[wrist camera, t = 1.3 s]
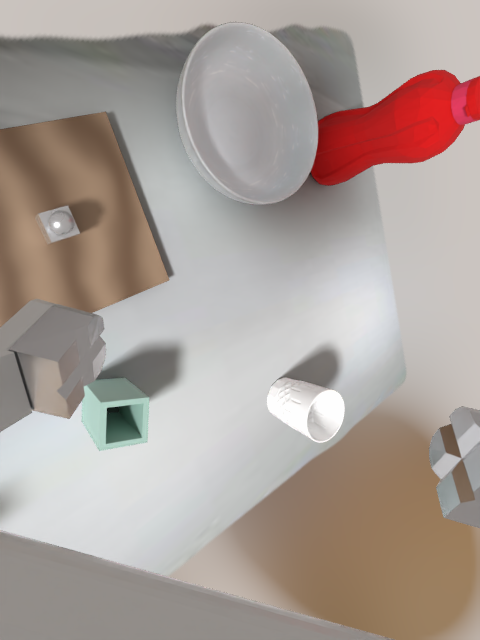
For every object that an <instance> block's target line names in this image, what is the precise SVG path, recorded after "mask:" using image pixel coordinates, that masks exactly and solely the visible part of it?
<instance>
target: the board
mask: <svg viewBox="0 0 480 640" xmlns="http://www.w3.org/2000/svg"><path fill="white" fill-rule="evenodd" d="M64 206H68V207H69V209H70V211H71V214H72V216H73V218H74V220H75V223H76V225H77V227H78V229H79V232H80V234H78V235H76V236H73V237H70V238H67V239H63V240H60V241H57V242H54V243H51V244H47V242H46V240H45V238H44V236H43V234H42V232H41V229H40V227H39V225H38V223H37V221H36V219H35V217H36V216H37V214H39V213H42V212H46V211H49V210H53V209H57V208H60V207H64ZM166 281H169V278H168V275H167V272H166V270H165V267H164V264H163V262H162V259H161V257H160V254H159V251H158V249H157V246H156V243H155V241H154V238H153V235H152V233H151V230H150V227H149V225H148V222H147V219H146V217H145V214H144V212H143V209H142V206H141V204H140V201H139V198H138V196H137V193H136V190H135V188H134V185H133V182H132V180H131V177H130V175H129V172H128V169H127V167H126V164H125V161H124V159H123V156H122V153H121V151H120V148H119V145H118V143H117V140H116V137H115V135H114V132H113V130H112V127H111V124H110V122H109V119H108V116H107V114H106V112H101V113H95V114H89V115H84V116H78V117H72V118H66V119H60V120H54V121H48V122H42V123H36V124H30V125H24V126H18V127H12V128H6V129H0V327H2V326H3V325H4V324H5V323H6V322H7V321H8V320H9V319H10V318H11V317H13V316H14V315H15V314H16V313H17V312H18V311H19V310H20V309H21V308H23V307H24V306H25V305H26V304H27V303H28V302H29V301H31V300H34V299H40V300H44V301H47V302H51V303H54V304H60V305H64V306H67V307H71V308H75V309H78V310H82V311H85V312H89V313H93V312H95V311H97V310H100V309H102V308H105V307H107V306H109V305H112V304H114V303H116V302H119V301H121V300H123V299H126V298H128V297H131V296H133V295H135V294H138V293H140V292H142V291H145V290H147V289H150V288H152V287H154V286H157V285H159V284H161V283H164V282H166Z"/></svg>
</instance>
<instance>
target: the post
mask: <svg viewBox="0 0 480 640" xmlns="http://www.w3.org/2000/svg"><path fill="white" fill-rule="evenodd" d="M35 219H36V221H37V223H38V225H39V227H40V229H41V232H42V234H43V236H44V238H45V240H46V242H47V244H51V243H54V242H57V241H60V240H63V239H67V238H70V237H73V236H76V235H78V234H80V232H79V229H78V227H77V225H76V223H75V220H74V218H73V216H72V214H71V211H70V209H69V207H68V206H64V207H60V208H57V209H53V210H49V211H46V212H42V213H39V214H37V216H36V217H35Z"/></svg>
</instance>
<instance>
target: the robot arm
mask: <svg viewBox="0 0 480 640" xmlns="http://www.w3.org/2000/svg"><path fill="white" fill-rule="evenodd" d="M103 330H104V322H103V318H102V317H101V316H99V315H96V314H93V313H89V312H85V311H82V310H78V309H75V308H71V307H67V306H64V305H60V304H54V303H51V302H47V301H44V300H40V299H34V300H31V301H29V302H28V303H27V304H26V305H25V306H24V307H23V308H21V309H20V310H19V311H18V312H17V313H16V314H15V315H14V316H13V317H11V318H10V319H9V320H8V321H7V322H6V323H5V324H4V325H3V326H2V327H0V432H1V431H3V430H4V429H6V428H8V427H9V426H11V425H13V424H14V423H16V422H17V421H19V420H21V419H22V418H24V417H26V416H27V415H29V414H31V413H32V410H33V411H37V412H41V413H46V414H50V415H54V416H59V417H63V418H67V419H70V417H71V416H72V414H73V413H74V411H75V410H76V408H77V407H78V405H79V404H80V403H81V401H82V400H83V398H84V397H85V393H84V386H86V385H88V384H90V383H92V382H94V381H95V380H96V378H97V377H98V375H99V374H100V372H101V369H102V367H103V364H104V361H105V356H106V343H105V342H104V341H103V339H102V338H101V337H100V334H101V333H102V332H103ZM450 421H451V424H449V425H447V426H444V427H441V428H439V429H438V430H437V432H436V433H435V434H434V436H433V437H432V440H431V444H430V448H429V456H430V457H429V458H430V463H431V467H432V469H433V471H434V472H435V473H436V474H437V475H438V477H439V478H440V479H441V480H440V482H439V484H438V485H437V487H436V488H437V493H438V497H439V501H440V505H441V508H442V513H443V517H444V518H447V519H450V520H454V521H457V522H461V523H464V524H467V525H471V526H474V527H478V528H480V410H476V409H472V408H467V407H463V406H462V407H459V408H457V409H455V410H454V412H453V413H452V414H451V415H450ZM0 640H394V639H390V638H387V637H383V636H379V635H376V634H372V633H368V632H365V631H361V630H358V629H354V628H351V627H347V626H344V625H340V624H336V623H332V622H329V621H326V620H322V619H318V618H315V617H311V616H307V615H304V614H300V613H297V612H293V611H290V610H286V609H282V608H278V607H275V606H271V605H268V604H264V603H261V602H257V601H253V600H250V599H246V598H243V597H239V596H236V595H232V594H228V593H225V592H221V591H218V590H214V589H210V588H207V587H203V586H200V585H196V584H192V583H189V582H185V581H181V580H178V579H174V578H171V577H167V576H164V575H160V574H157V573H153V572H149V571H146V570H142V569H139V568H135V567H131V566H128V565H124V564H121V563H117V562H113V561H110V560H106V559H103V558H99V557H95V556H92V555H88V554H85V553H81V552H77V551H74V550H70V549H67V548H63V547H59V546H56V545H52V544H49V543H45V542H41V541H38V540H34V539H31V538H27V537H23V536H20V535H16V534H13V533H9V532H5V531H2V530H0Z"/></svg>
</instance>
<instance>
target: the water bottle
mask: <svg viewBox="0 0 480 640" xmlns="http://www.w3.org/2000/svg"><path fill="white" fill-rule="evenodd" d="M477 120H480V76H479V77H477V78H474V79H471V80H469V81H466V82H464V83H460V82H459V81H458V79H457V78H456V77H455V75H453V74H451V73H449V72H447V71H445V70H432V71H429V72H426V73H423V74H420V75H417V76H415V77H413V78H411V79H410V80H408V81H407V82H406V83H404V84H403V85H401V86H400V87H399V88H398V89H396V90H395V91H393V92H392V93H391V94H389V95H388V96H387V97H385V98H384V99H382V100H381V101H380V102H378V103H377V104H375V105H372V106H370V107H365V108H358V109H351V110H345V111H339V112H336V113H333V114H330V115H328V116H326V117H324V118H323V119H321V120H319V121H318V145H317V151H316V156H315V160H314V164H313V166H312V169H311V174H312V177H313V178H314V179H315V180H316V181H317V182H318V183H319V184H322V185H328V186H329V185H335V184H339V183H342V182H345V181H347V180H349V179H351V178H352V177H354V176H356V175H357V174H359V173H361V172H363V171H364V170H366V169H368V168H370V167H371V166H373V165H377V164H382V163H417V162H423V161H425V160H427V159H430V158H432V157H434V156H435V155H438V154H440V153H442V152H443V151H444V150H446V149H447V148H448V147H449V146H450V145H451V144H452V143H453V142H454V141H455V140H456V138H457V137H458V136H459V134H460V133H461V131H462V130H463V128H464V126H465V124H468V123H471V122H474V121H477Z"/></svg>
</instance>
